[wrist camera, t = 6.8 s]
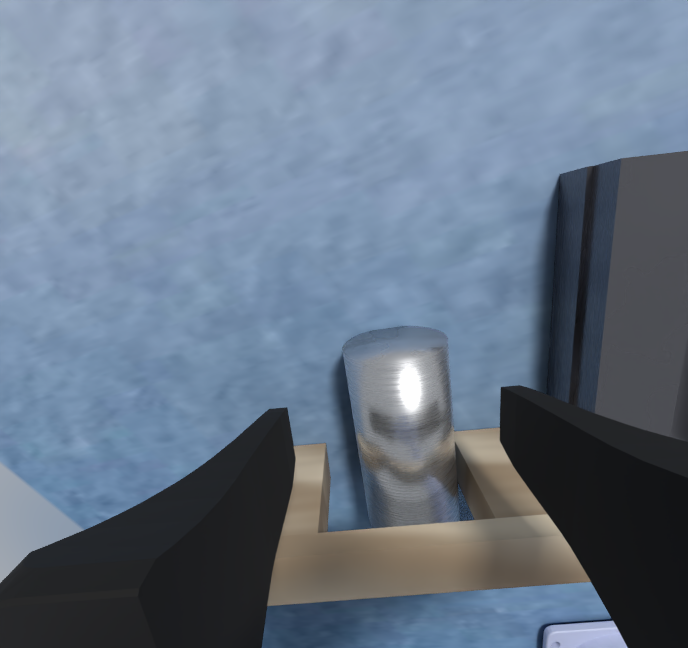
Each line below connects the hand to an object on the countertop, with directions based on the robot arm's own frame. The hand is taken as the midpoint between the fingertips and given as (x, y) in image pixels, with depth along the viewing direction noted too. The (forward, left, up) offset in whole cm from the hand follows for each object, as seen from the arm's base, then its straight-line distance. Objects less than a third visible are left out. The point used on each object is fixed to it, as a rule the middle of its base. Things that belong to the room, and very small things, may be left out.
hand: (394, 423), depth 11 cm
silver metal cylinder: (-2, 0, -4) cm, 5 cm away
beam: (-4, 0, -4) cm, 6 cm away
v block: (+2, -12, -4) cm, 13 cm away
